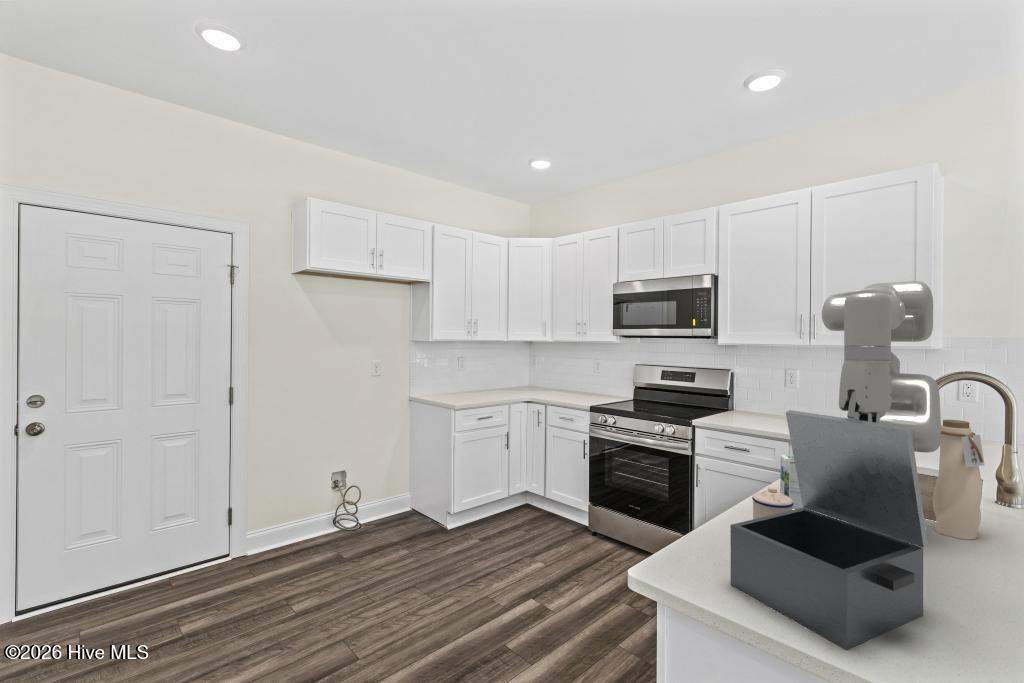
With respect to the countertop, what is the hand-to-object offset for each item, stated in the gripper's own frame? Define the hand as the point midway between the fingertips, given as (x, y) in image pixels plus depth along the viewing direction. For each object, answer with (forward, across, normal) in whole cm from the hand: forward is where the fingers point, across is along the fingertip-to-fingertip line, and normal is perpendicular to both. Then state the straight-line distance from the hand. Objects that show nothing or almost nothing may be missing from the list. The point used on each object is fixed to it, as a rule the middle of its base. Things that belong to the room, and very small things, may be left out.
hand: (866, 446), depth 95 cm
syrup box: (+27, -27, -34) cm, 51 cm away
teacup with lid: (+27, -6, -24) cm, 37 cm away
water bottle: (+27, -46, -4) cm, 54 cm away
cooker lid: (+5, +6, 0) cm, 7 cm away
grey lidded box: (+28, +14, 0) cm, 31 cm away
